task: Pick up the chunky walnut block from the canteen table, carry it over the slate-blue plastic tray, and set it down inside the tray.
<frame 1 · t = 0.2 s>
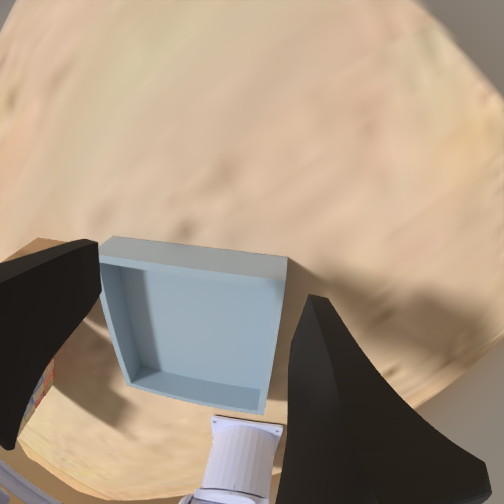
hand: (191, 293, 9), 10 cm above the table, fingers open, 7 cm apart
stack of blocks: (38, 336, 29), on the table
walnut block: (64, 269, 23), on the table
tray: (195, 324, 23), on the table
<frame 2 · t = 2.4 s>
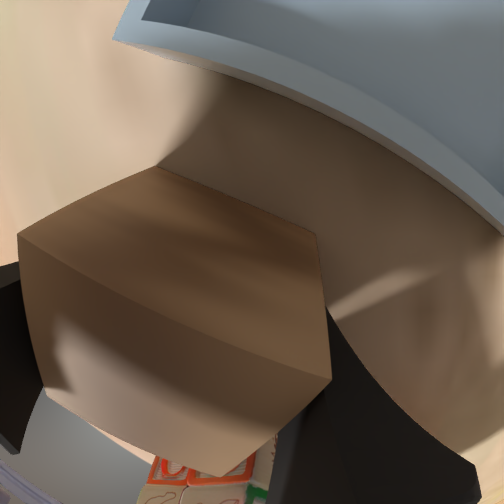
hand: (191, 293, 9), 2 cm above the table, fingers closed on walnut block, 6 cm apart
stack of blocks: (330, 447, 16), on the table
walnut block: (205, 269, 11), on the table, touching gripper
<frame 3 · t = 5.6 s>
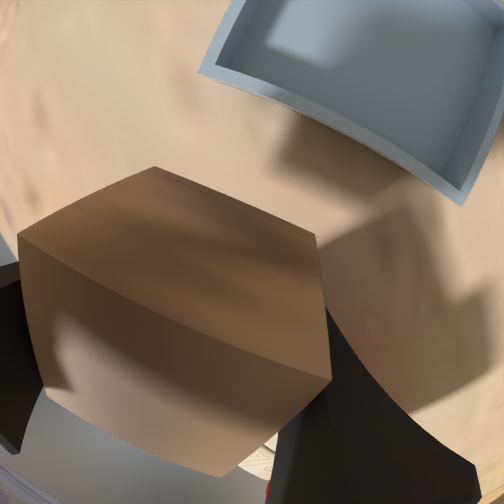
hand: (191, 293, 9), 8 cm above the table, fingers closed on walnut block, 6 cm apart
stack of blocks: (320, 378, 22), on the table
walnut block: (205, 269, 11), point 7 cm above the table, touching gripper
tray: (381, 34, 11), on the table
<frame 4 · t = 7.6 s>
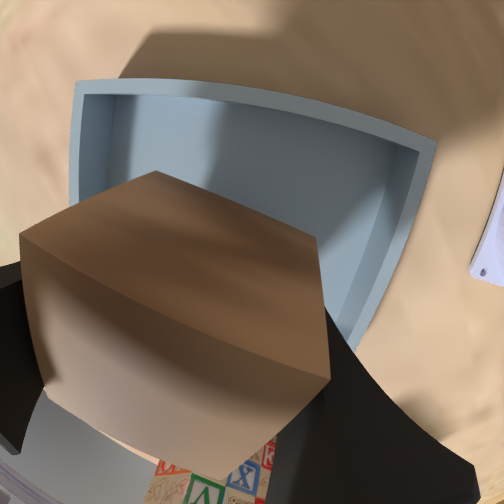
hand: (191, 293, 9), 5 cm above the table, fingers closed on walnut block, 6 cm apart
stack of blocks: (274, 458, 24), on the table
walnut block: (206, 272, 11), point 4 cm above the table, touching gripper
tray: (228, 231, 14), on the table
when the fingers open (4 cm above the table, at t = 9.0 s): walnut block drops 2 cm, resting on tray.
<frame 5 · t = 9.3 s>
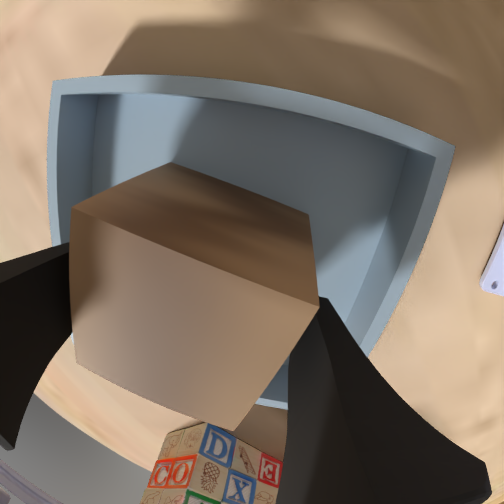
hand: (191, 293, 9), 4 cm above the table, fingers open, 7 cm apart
stack of blocks: (269, 469, 23), on the table
walnut block: (216, 249, 12), resting on tray
tray: (220, 243, 13), on the table
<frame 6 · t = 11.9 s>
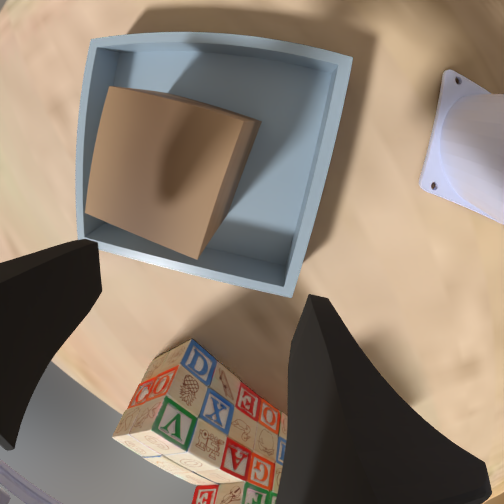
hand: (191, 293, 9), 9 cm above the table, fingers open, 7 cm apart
stack of blocks: (248, 410, 27), on the table
walnut block: (196, 152, 16), resting on tray
tray: (200, 150, 16), on the table
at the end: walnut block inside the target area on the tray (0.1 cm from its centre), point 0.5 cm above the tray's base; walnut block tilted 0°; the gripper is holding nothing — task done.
